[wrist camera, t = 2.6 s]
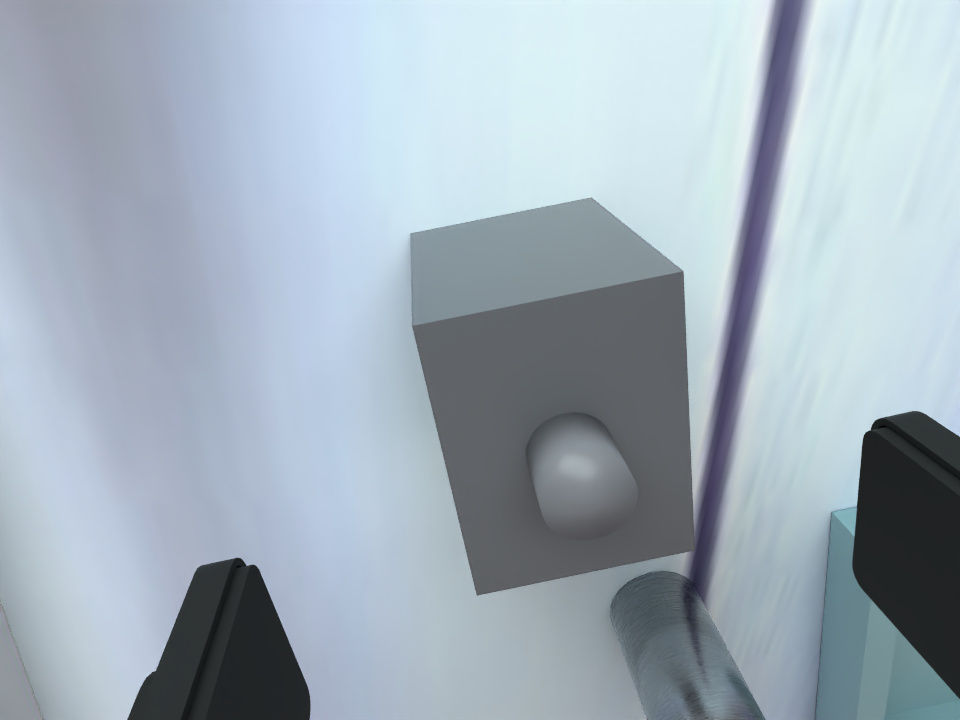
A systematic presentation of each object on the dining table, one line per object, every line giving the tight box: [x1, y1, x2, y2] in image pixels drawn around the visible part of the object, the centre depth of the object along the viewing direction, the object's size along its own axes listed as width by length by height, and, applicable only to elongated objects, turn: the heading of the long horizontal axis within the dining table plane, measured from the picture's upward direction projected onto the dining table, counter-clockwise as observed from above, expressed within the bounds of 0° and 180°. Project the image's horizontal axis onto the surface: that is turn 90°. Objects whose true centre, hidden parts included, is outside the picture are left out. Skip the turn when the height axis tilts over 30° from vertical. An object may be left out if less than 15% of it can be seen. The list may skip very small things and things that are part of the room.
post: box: [610, 572, 765, 720], centre depth 19 cm, size 3×3×8 cm
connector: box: [411, 198, 695, 595], centre depth 14 cm, size 4×6×8 cm
